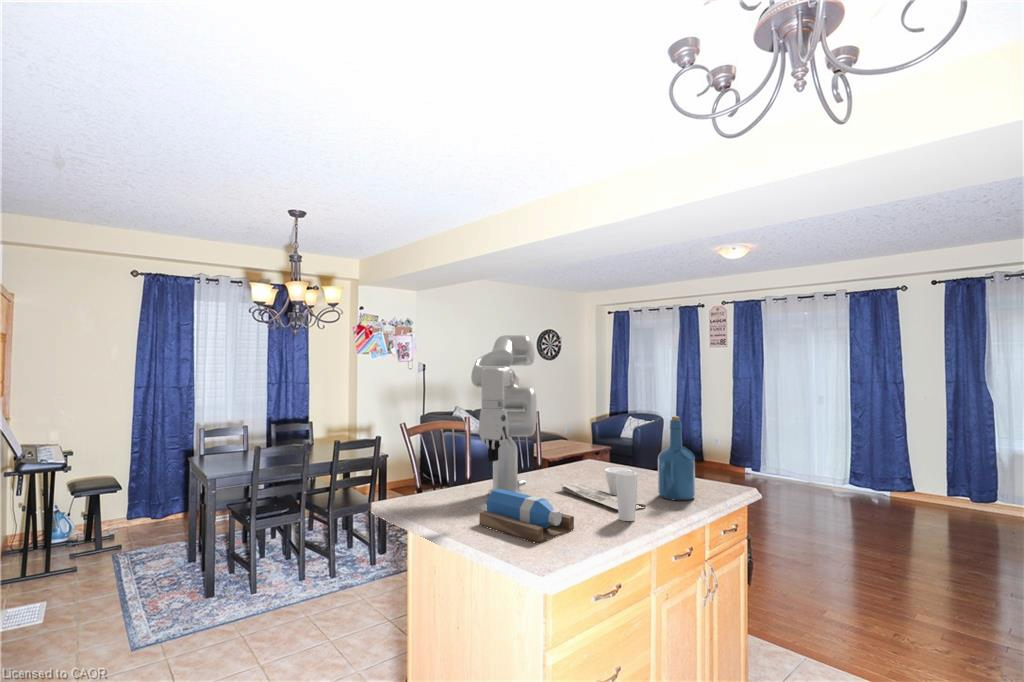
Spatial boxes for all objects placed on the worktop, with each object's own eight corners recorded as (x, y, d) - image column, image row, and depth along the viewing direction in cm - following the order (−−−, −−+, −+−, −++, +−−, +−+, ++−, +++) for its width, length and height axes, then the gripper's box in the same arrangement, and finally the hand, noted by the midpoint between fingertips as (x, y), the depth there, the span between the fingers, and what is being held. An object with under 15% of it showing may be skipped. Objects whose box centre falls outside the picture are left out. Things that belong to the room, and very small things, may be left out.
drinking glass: (629, 515, 173) (629, 469, 173) (642, 521, 166) (641, 474, 167) (612, 517, 170) (611, 471, 171) (623, 524, 164) (623, 475, 164)
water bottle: (490, 523, 168) (552, 541, 151) (482, 499, 166) (544, 514, 149) (508, 506, 175) (569, 522, 158) (501, 482, 172) (562, 495, 156)
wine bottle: (651, 496, 196) (650, 416, 197) (670, 490, 205) (669, 413, 206) (684, 503, 186) (683, 419, 187) (703, 497, 195) (701, 416, 196)
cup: (603, 496, 196) (603, 472, 196) (606, 490, 206) (606, 466, 206) (630, 498, 193) (630, 473, 193) (632, 492, 203) (632, 468, 203)
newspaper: (645, 509, 181) (645, 499, 181) (619, 515, 174) (619, 504, 175) (580, 488, 211) (579, 479, 211) (555, 492, 204) (555, 483, 204)
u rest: (516, 513, 175) (516, 501, 175) (573, 529, 158) (573, 516, 159) (479, 525, 163) (479, 512, 163) (537, 544, 146) (537, 529, 146)
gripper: (517, 405, 170) (517, 462, 169) (485, 402, 180) (485, 455, 180) (500, 407, 164) (501, 466, 164) (469, 404, 175) (469, 459, 174)
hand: (493, 460), depth 172 cm, fingers closed
